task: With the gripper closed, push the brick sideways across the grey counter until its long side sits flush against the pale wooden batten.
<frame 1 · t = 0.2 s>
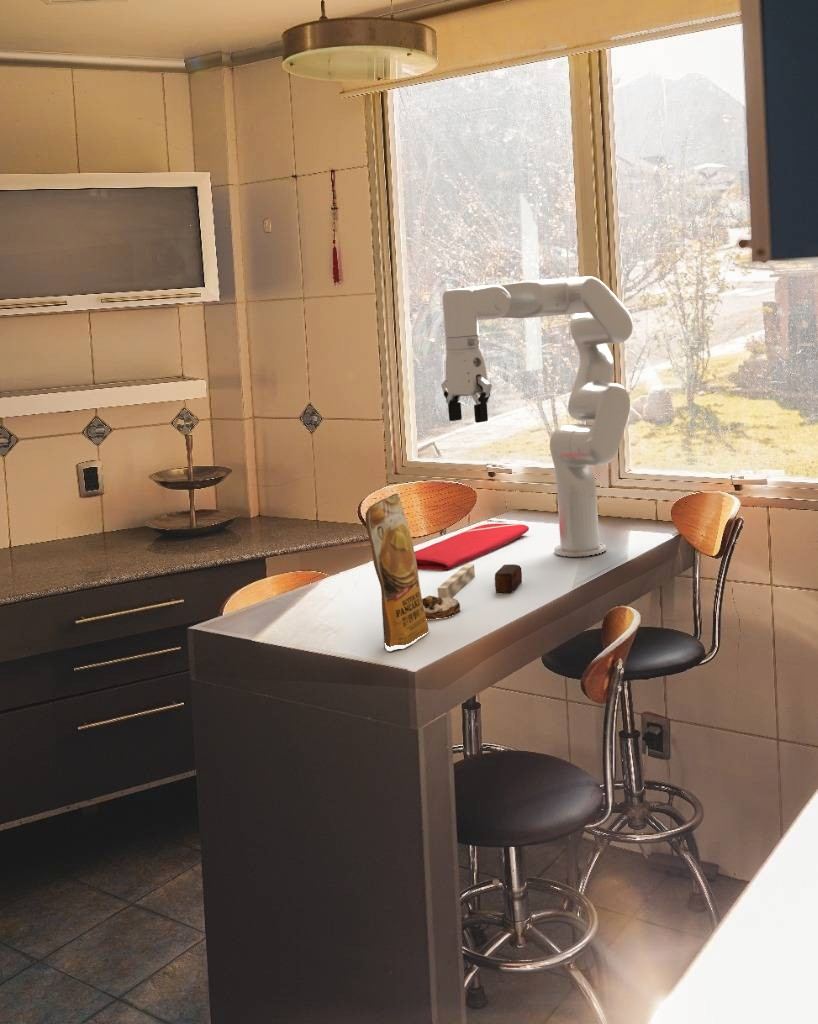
hand: (468, 421, 271), 37 cm above the countertop, tool pointing down, fingers open, 9 cm apart
brick: (509, 589, 268), on the countertop
cream topped tart: (430, 616, 252), on the countertop
pancake mix bag: (403, 641, 233), on the countertop
dish drying mat: (466, 553, 310), on the countertop
board: (457, 588, 271), on the countertop
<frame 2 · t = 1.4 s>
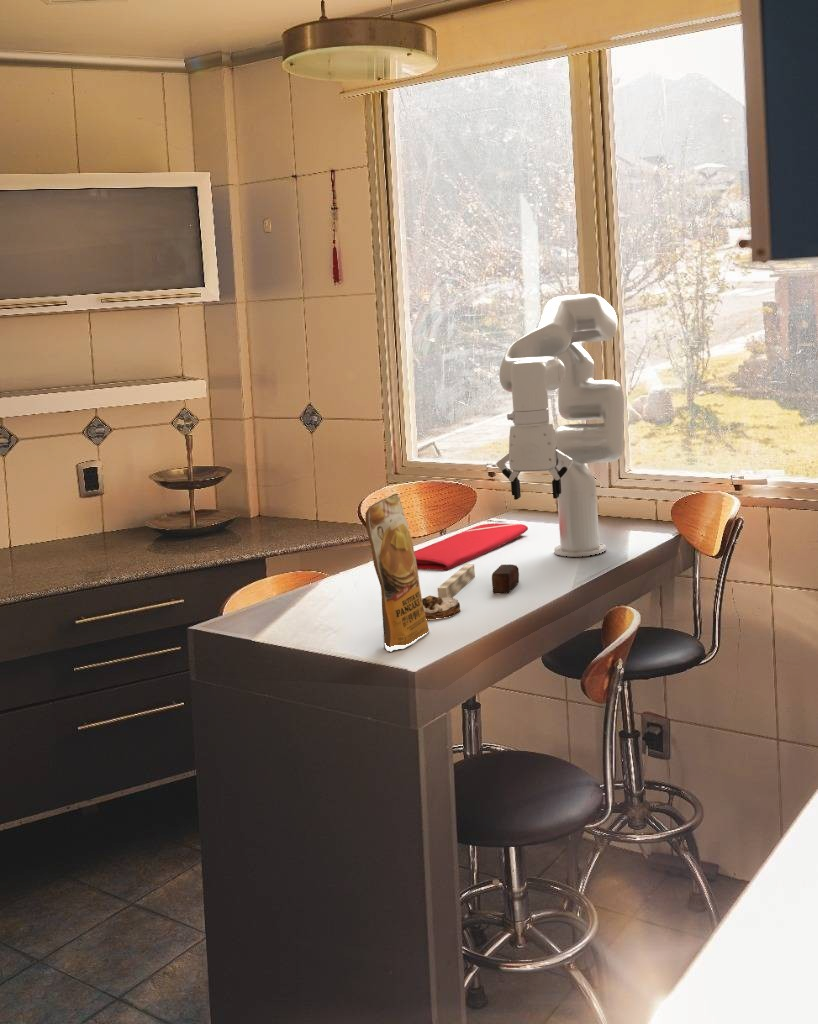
hand: (536, 497, 262), 20 cm above the countertop, tool pointing down, fingers open, 8 cm apart
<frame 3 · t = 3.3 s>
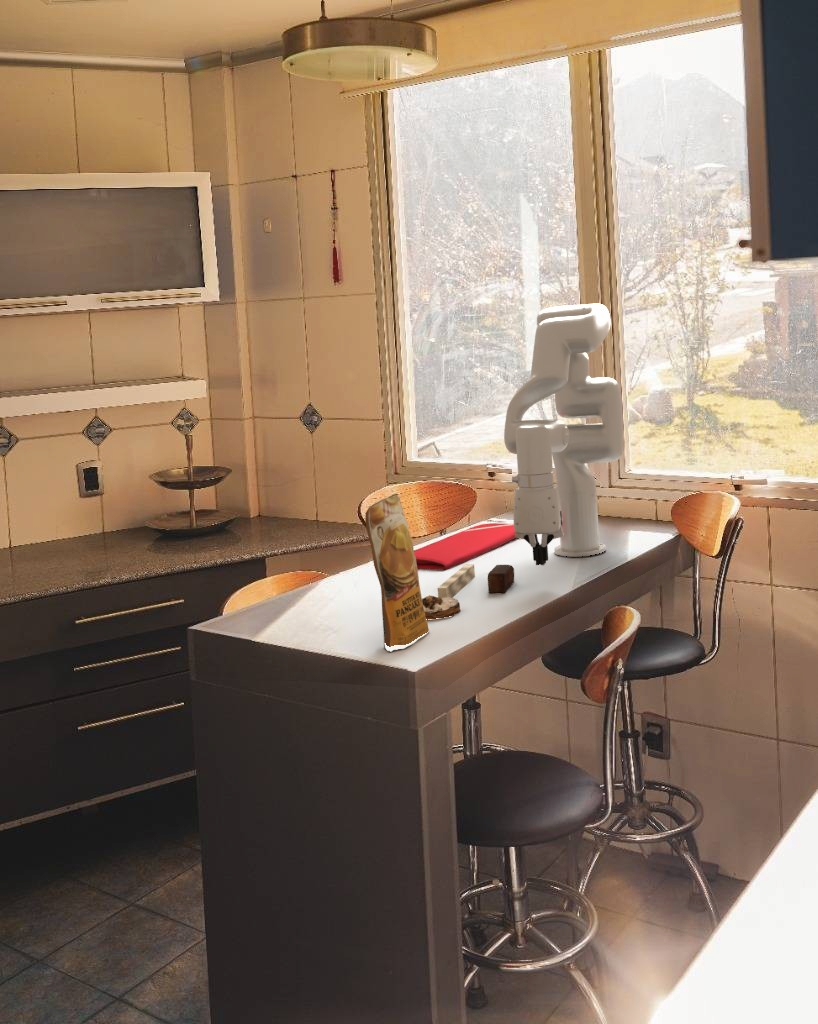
hand: (541, 563, 264), 5 cm above the countertop, tool pointing down, fingers closed
brick: (502, 589, 268), on the countertop
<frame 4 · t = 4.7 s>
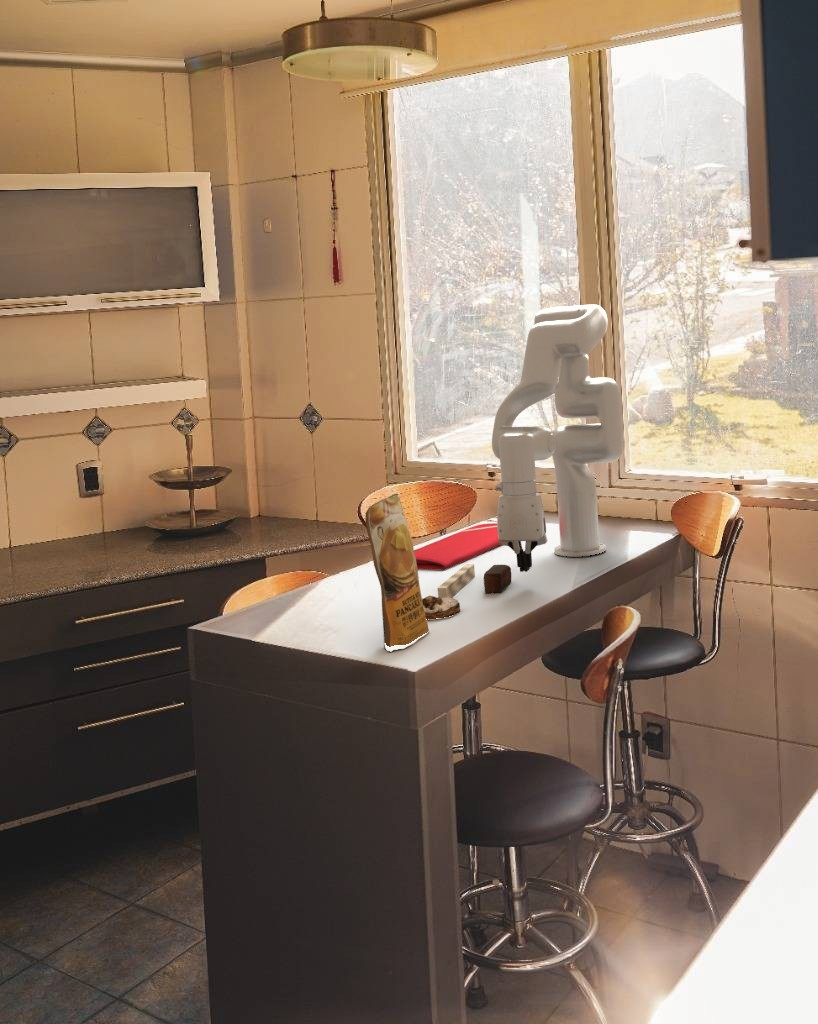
hand: (525, 570, 266), 4 cm above the countertop, tool pointing down, fingers closed
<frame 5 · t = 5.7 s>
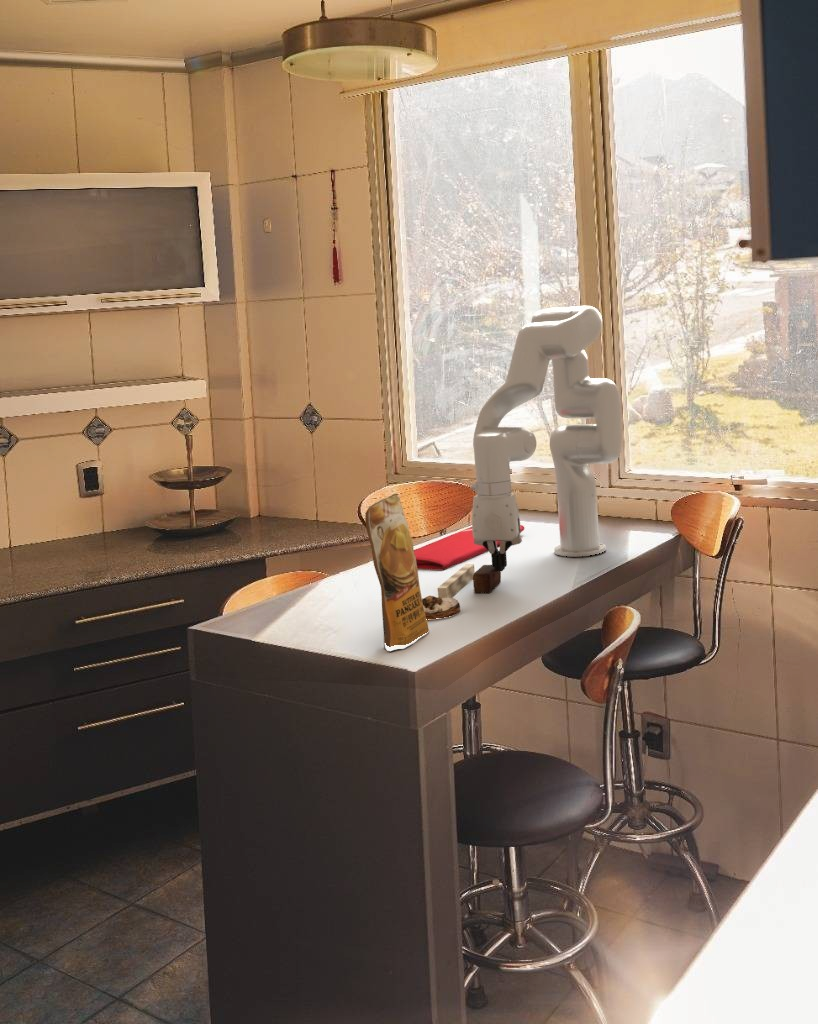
hand: (499, 569, 267), 4 cm above the countertop, tool pointing down, fingers closed
brick: (488, 589, 269), on the countertop
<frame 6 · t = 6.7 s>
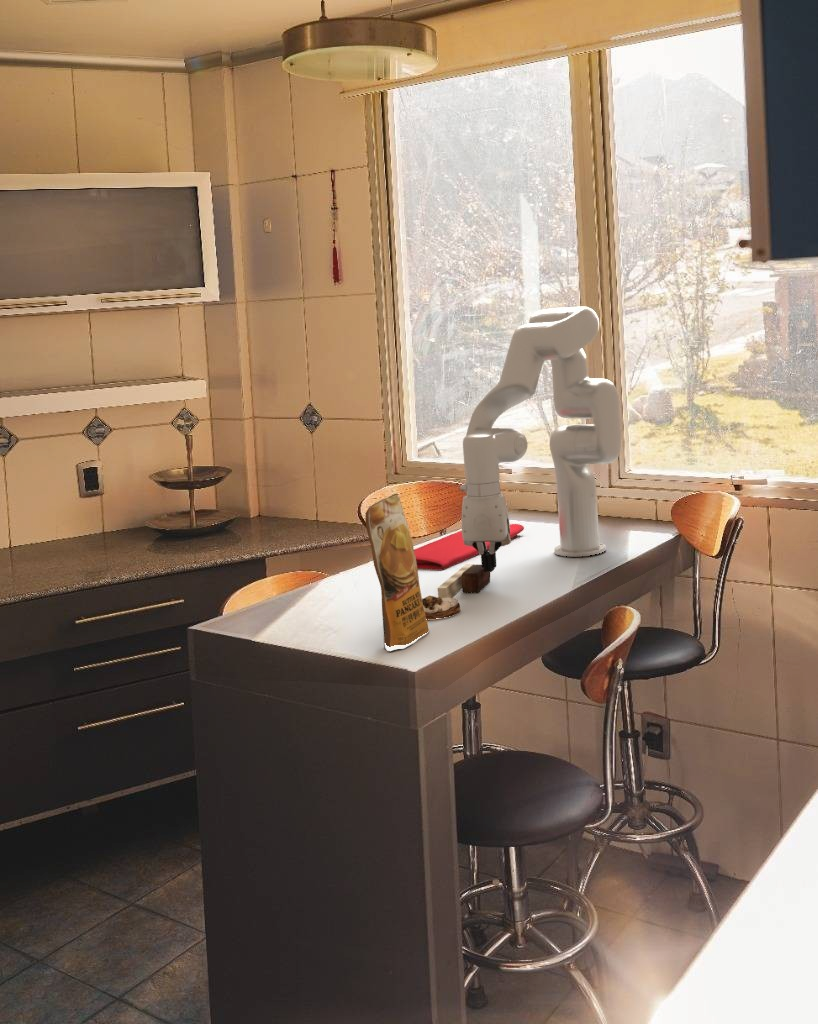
hand: (489, 570, 268), 4 cm above the countertop, tool pointing down, fingers closed
brick: (477, 589, 270), on the countertop
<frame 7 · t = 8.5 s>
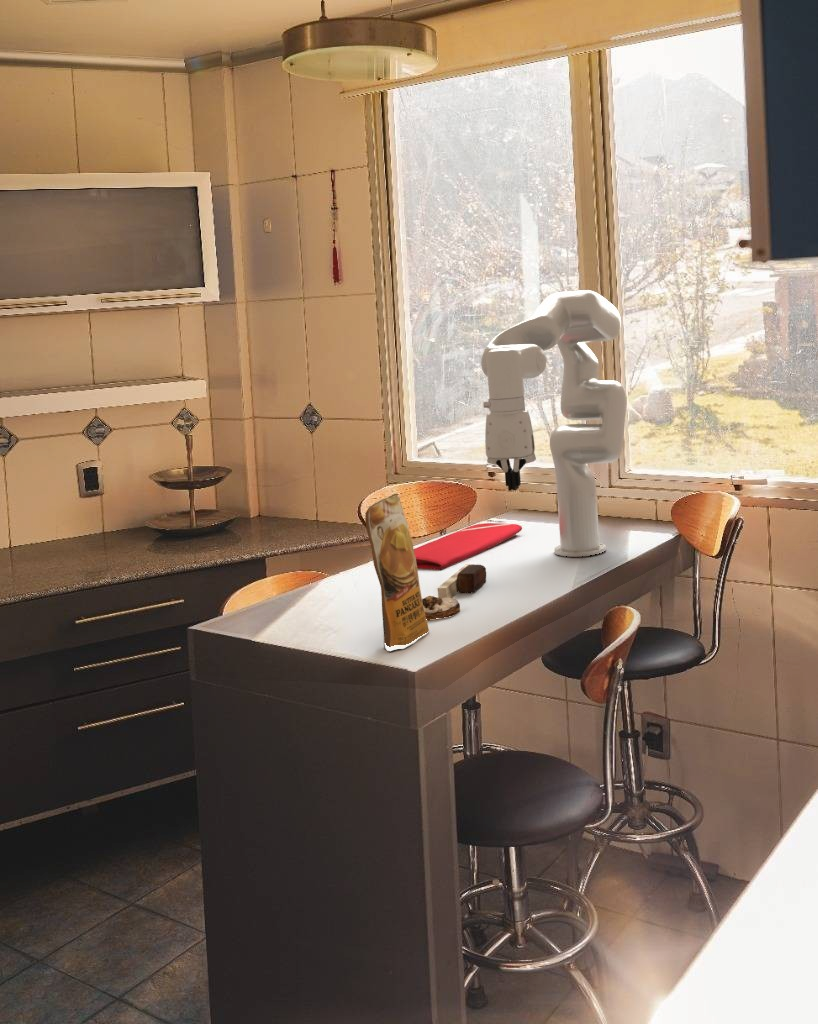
hand: (513, 489, 263), 22 cm above the countertop, tool pointing down, fingers closed
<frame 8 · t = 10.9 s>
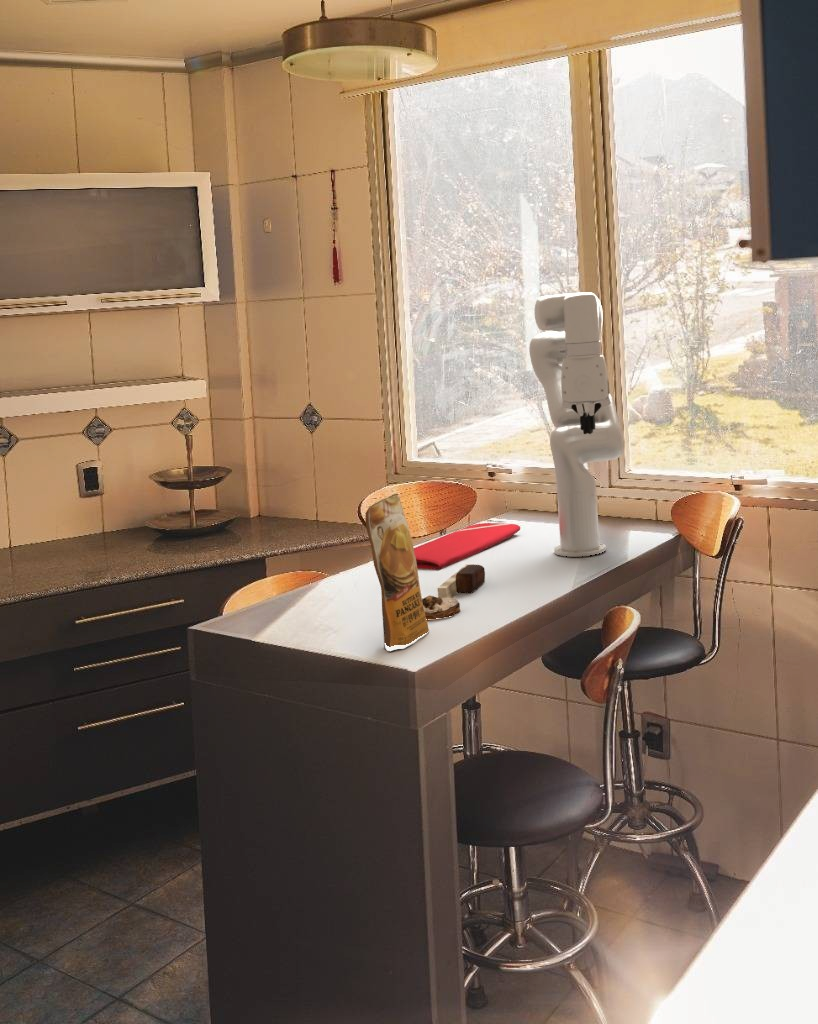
hand: (588, 433, 268), 32 cm above the countertop, tool pointing down, fingers closed
at the end: brick inside the target area on the countertop beside the board (1.7 cm from its centre), on the countertop; brick tilted 1°; brick moved 9.1 cm from its start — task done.
